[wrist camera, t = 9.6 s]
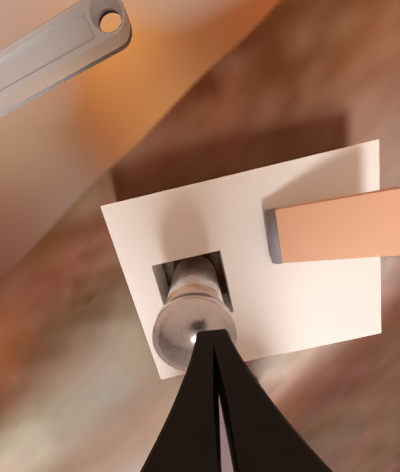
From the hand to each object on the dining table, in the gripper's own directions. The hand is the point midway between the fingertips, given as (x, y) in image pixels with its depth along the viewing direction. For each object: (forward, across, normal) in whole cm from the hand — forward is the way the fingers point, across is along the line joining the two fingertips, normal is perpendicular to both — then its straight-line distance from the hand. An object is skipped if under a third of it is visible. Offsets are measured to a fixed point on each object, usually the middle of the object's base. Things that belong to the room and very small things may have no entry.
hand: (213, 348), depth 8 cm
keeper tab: (+5, -9, -4) cm, 11 cm away
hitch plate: (+9, -4, 0) cm, 10 cm away
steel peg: (+9, +1, +1) cm, 9 cm away
